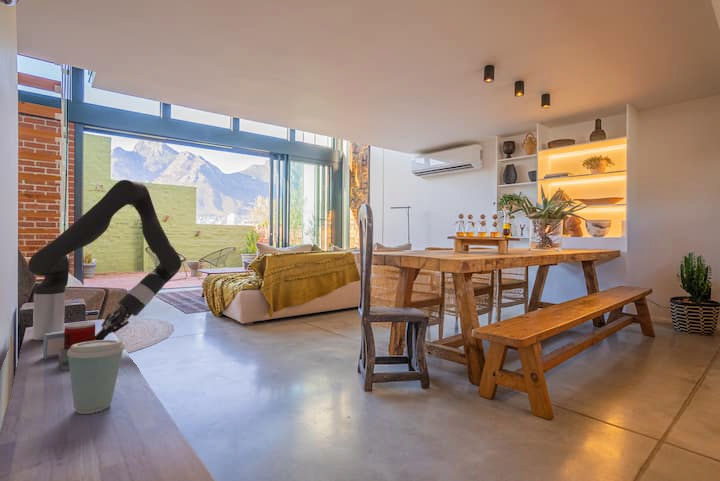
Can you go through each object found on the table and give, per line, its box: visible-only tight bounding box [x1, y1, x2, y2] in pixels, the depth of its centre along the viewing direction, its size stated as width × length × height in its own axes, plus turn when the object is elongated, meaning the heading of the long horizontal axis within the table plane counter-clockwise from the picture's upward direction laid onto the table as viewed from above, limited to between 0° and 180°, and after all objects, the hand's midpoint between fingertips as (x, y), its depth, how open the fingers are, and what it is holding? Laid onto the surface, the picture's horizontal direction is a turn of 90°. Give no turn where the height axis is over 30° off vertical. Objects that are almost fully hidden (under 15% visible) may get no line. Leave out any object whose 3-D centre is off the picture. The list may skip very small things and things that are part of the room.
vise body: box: [58, 347, 71, 373], centre depth 111 cm, size 6×8×6 cm
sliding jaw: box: [42, 331, 64, 360], centre depth 123 cm, size 9×7×8 cm
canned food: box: [64, 321, 96, 348], centre depth 119 cm, size 8×8×11 cm
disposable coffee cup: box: [67, 339, 125, 415], centre depth 84 cm, size 11×11×15 cm
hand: (96, 340), depth 123 cm, fingers closed
